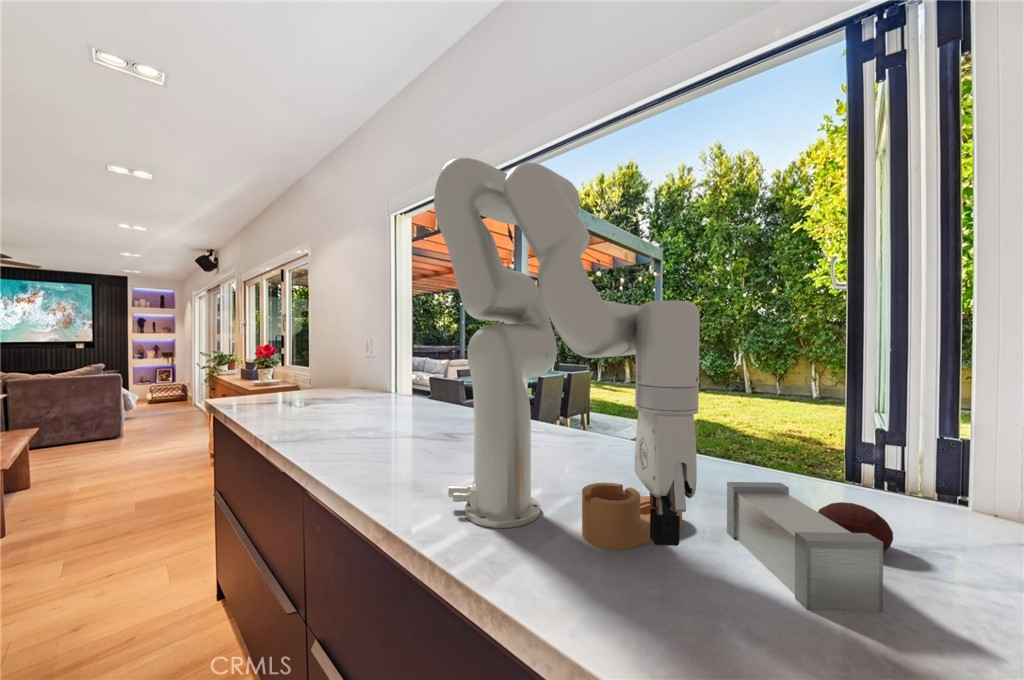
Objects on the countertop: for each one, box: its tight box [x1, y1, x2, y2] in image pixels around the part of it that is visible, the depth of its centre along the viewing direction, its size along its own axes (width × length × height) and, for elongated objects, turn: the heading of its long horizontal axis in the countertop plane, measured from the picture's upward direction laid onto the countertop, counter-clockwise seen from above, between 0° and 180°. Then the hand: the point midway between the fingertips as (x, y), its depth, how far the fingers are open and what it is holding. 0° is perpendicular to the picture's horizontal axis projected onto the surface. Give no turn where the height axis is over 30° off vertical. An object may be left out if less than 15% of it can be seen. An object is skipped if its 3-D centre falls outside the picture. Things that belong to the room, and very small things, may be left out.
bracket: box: [581, 482, 683, 551], centre depth 64 cm, size 18×8×7 cm, turn 123°
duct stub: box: [726, 481, 884, 613], centre depth 53 cm, size 8×18×8 cm, turn 177°
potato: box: [817, 502, 894, 552], centre depth 58 cm, size 7×8×6 cm
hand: (664, 542), depth 53 cm, fingers closed
